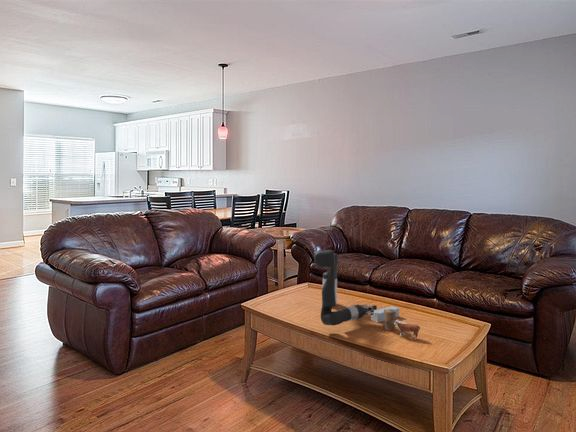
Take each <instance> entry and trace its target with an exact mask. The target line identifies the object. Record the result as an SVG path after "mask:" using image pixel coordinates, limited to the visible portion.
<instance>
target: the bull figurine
mask: <svg viewBox="0 0 576 432" xmlns="http://www.w3.org/2000/svg"><path fill="white" fill-rule="evenodd" d="M394 324H395V327H397V329H398V331H400V334H399V336H398V337H399V338H401V337H402V336H403V337H404V336H405V335H406V333H408V334H412V333H413V334H412V335H411V336H410V337H411V338H414V339H413V340H417V338H418V336H419V331H420V330H421V327H420V326H419V325H418V324H412V323H411V324H410V323H407V322H404V321H402V320H400V319H396V321H395V323H394ZM405 332H406V333H405Z"/></svg>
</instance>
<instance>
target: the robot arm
mask: <svg viewBox="0 0 576 432" xmlns="http://www.w3.org/2000/svg"><path fill="white" fill-rule="evenodd" d="M313 256H314V257H313V260H314V264H315V266H316V267H317V268H321V269H323V268H327V269H329V270H328V271H325V272H323V273H322V287H321V288H322V289H321V311H320V320H321V321H320V322H321V323H322V324H323V325H325V326H339V325H340V324H343V323H345V322H348V321H349V322H350V321H355V320H360V319H363V317H364V316H365V315H368V314H370V316H371V315H373V313H374V311H375V310H378V307H377V306H378V305H375V304H374V305H373V304H372V305H368V304H354V305H351V306H347V307H344V308H340V309H337V310H336V311H335V310H334V311H333V310H332V309H333V307H335V306H337V305H338V303H337V302H338V299H337V298H338V297H337V296H338V264H339V262H338V261H339V257H338V256H339V255H338V254H337V253H335V251H334V250H332V249H325V250H323V249H322V250H317V251H316V252H315V253H314V255H313Z"/></svg>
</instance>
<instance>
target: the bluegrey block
mask: <svg viewBox="0 0 576 432" xmlns="http://www.w3.org/2000/svg"><path fill="white" fill-rule="evenodd" d="M384 309H393V310H394V311H395V312H396V318H398V317H400V308H399V307H396V306H395V305H394V306H388V307H384V308H381V309H380V308H379V309H376V310H374V313H373V315H371V314H370V321H373V322H375V323H381V322H384Z"/></svg>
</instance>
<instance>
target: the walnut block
mask: <svg viewBox="0 0 576 432" xmlns="http://www.w3.org/2000/svg"><path fill="white" fill-rule="evenodd" d="M396 320H397V317H396V312H395V311H394V310H393V309H384V321H383V323H382V324H383V328H384V330H385V331H396V324H394V323H395V321H396Z"/></svg>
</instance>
